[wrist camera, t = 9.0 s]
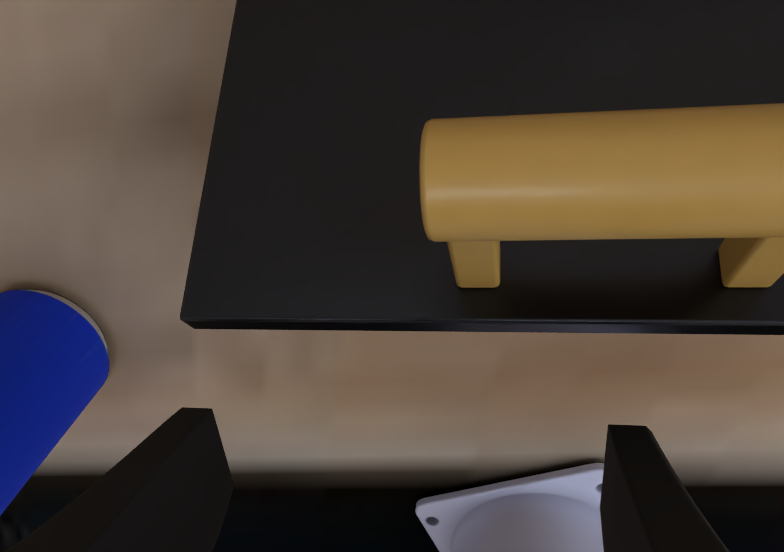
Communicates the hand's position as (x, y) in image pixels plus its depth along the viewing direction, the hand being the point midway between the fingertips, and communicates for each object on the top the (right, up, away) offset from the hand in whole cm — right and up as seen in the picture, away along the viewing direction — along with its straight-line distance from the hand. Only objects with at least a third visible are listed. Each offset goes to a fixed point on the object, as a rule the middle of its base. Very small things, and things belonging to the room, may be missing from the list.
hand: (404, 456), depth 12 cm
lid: (+3, +6, 0) cm, 7 cm away
